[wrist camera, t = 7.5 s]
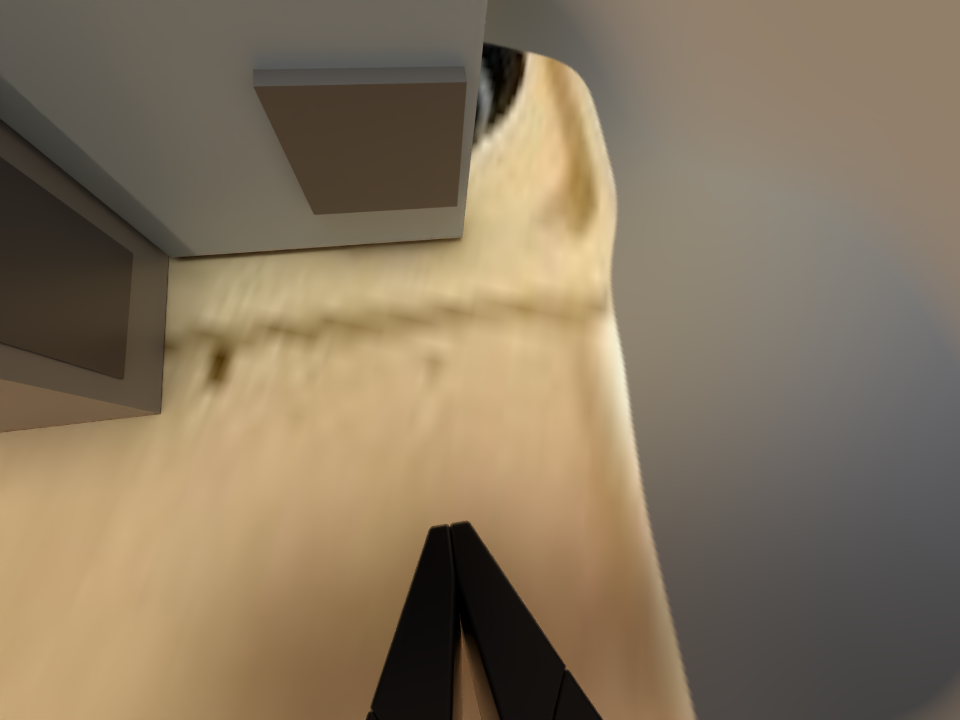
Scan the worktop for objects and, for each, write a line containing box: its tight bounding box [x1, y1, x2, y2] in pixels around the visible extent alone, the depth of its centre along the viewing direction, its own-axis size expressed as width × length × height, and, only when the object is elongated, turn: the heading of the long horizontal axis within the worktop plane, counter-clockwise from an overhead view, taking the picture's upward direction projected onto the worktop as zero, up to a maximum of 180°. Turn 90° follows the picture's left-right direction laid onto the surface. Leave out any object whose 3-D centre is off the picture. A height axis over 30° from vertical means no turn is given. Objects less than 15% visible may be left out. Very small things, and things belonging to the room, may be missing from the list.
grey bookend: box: [0, 0, 488, 257], centre depth 16 cm, size 12×14×13 cm
